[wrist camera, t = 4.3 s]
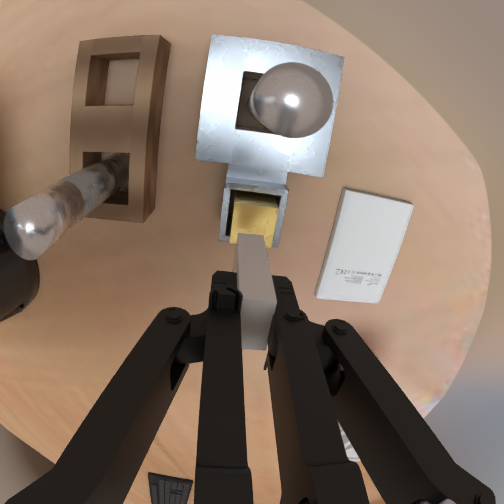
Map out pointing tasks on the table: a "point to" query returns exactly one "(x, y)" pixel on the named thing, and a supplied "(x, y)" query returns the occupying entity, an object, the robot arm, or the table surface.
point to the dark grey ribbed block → (168, 489)
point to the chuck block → (253, 139)
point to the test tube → (62, 205)
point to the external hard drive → (362, 246)
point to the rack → (120, 119)
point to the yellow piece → (254, 215)
